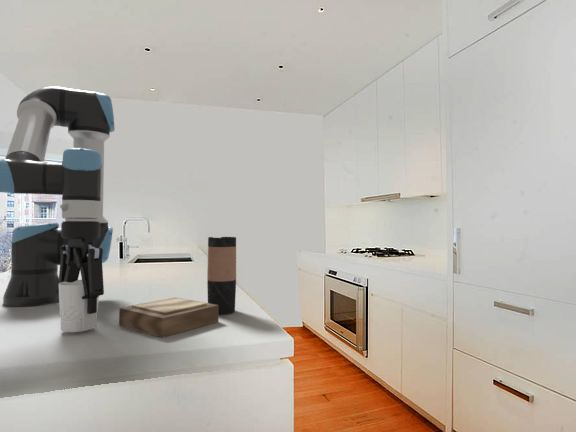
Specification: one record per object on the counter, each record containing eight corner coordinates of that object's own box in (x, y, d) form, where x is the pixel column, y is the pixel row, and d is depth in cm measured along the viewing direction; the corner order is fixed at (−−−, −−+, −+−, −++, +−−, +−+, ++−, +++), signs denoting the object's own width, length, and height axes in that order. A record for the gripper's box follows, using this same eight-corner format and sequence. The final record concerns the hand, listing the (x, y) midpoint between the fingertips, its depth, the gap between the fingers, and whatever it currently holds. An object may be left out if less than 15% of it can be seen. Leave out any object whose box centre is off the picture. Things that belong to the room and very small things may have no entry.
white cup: (70, 335, 78) (71, 286, 78) (50, 329, 83) (51, 283, 83) (106, 326, 85) (107, 281, 85) (86, 321, 89) (86, 278, 89)
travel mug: (230, 315, 99) (230, 237, 99) (202, 314, 100) (203, 237, 101) (239, 309, 106) (240, 236, 107) (213, 308, 108) (214, 236, 108)
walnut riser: (119, 325, 89) (119, 305, 89) (175, 312, 102) (175, 295, 102) (162, 337, 80) (162, 315, 80) (218, 321, 93) (218, 303, 93)
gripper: (41, 219, 87) (39, 321, 87) (88, 220, 75) (86, 338, 75) (75, 219, 93) (74, 314, 93) (123, 220, 81) (122, 329, 81)
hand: (79, 324), depth 84 cm, fingers closed on white cup, 7 cm apart
